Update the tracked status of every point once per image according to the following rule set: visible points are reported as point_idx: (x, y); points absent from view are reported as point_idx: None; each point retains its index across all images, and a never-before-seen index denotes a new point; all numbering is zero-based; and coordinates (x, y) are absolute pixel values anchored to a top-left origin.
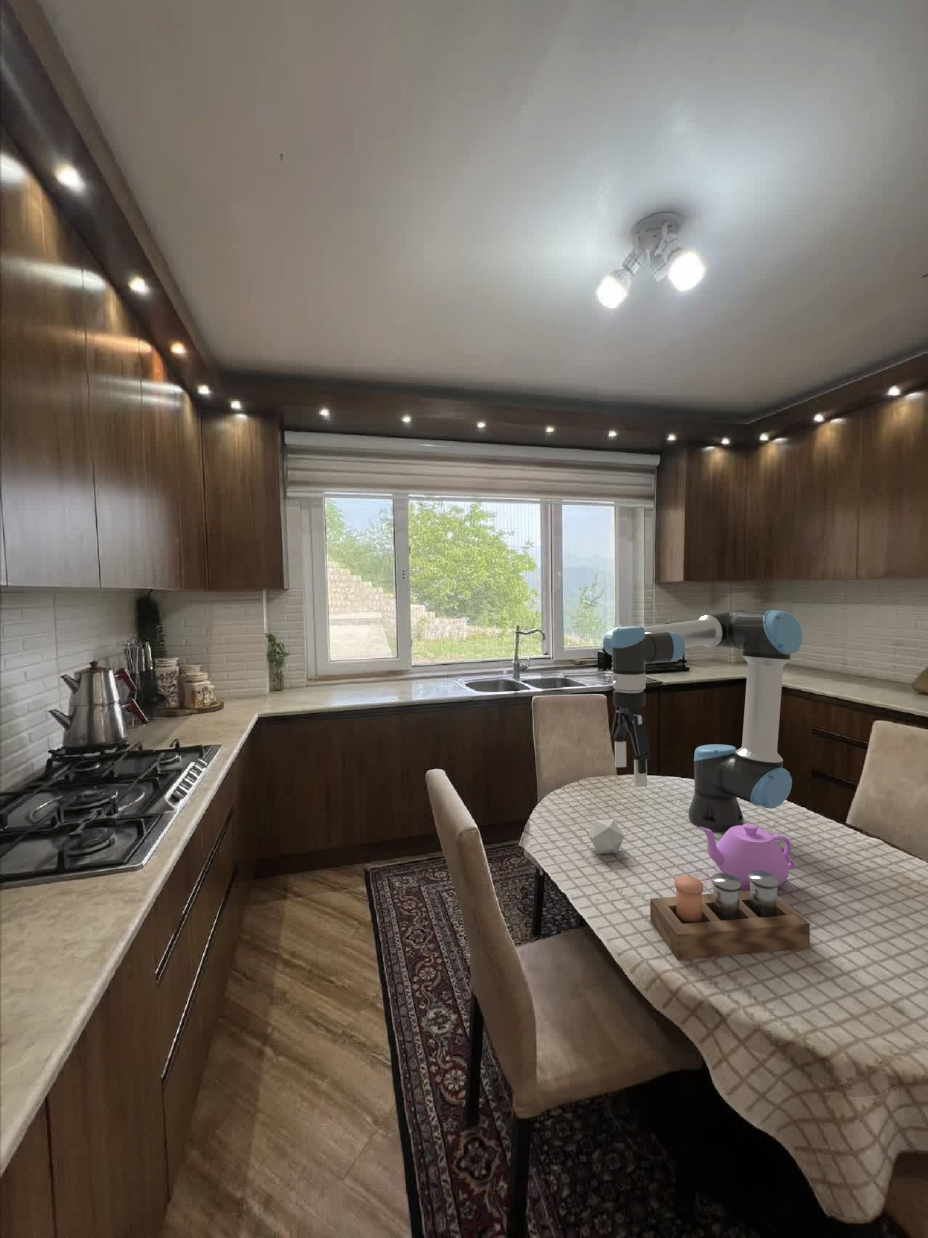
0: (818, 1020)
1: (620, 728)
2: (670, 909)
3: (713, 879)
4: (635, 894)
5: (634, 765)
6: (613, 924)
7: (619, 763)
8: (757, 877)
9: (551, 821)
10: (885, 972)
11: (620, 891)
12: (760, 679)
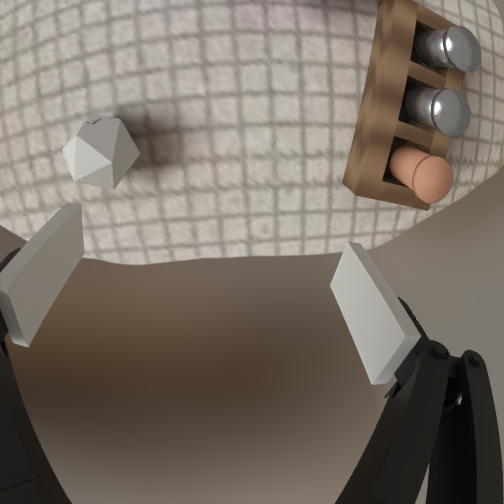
0: (499, 134)
1: (49, 469)
2: (389, 183)
3: (445, 131)
4: (271, 163)
5: (364, 353)
6: (327, 234)
7: (75, 247)
8: (462, 57)
9: (6, 207)
10: (484, 13)
11: (255, 183)
12: None
